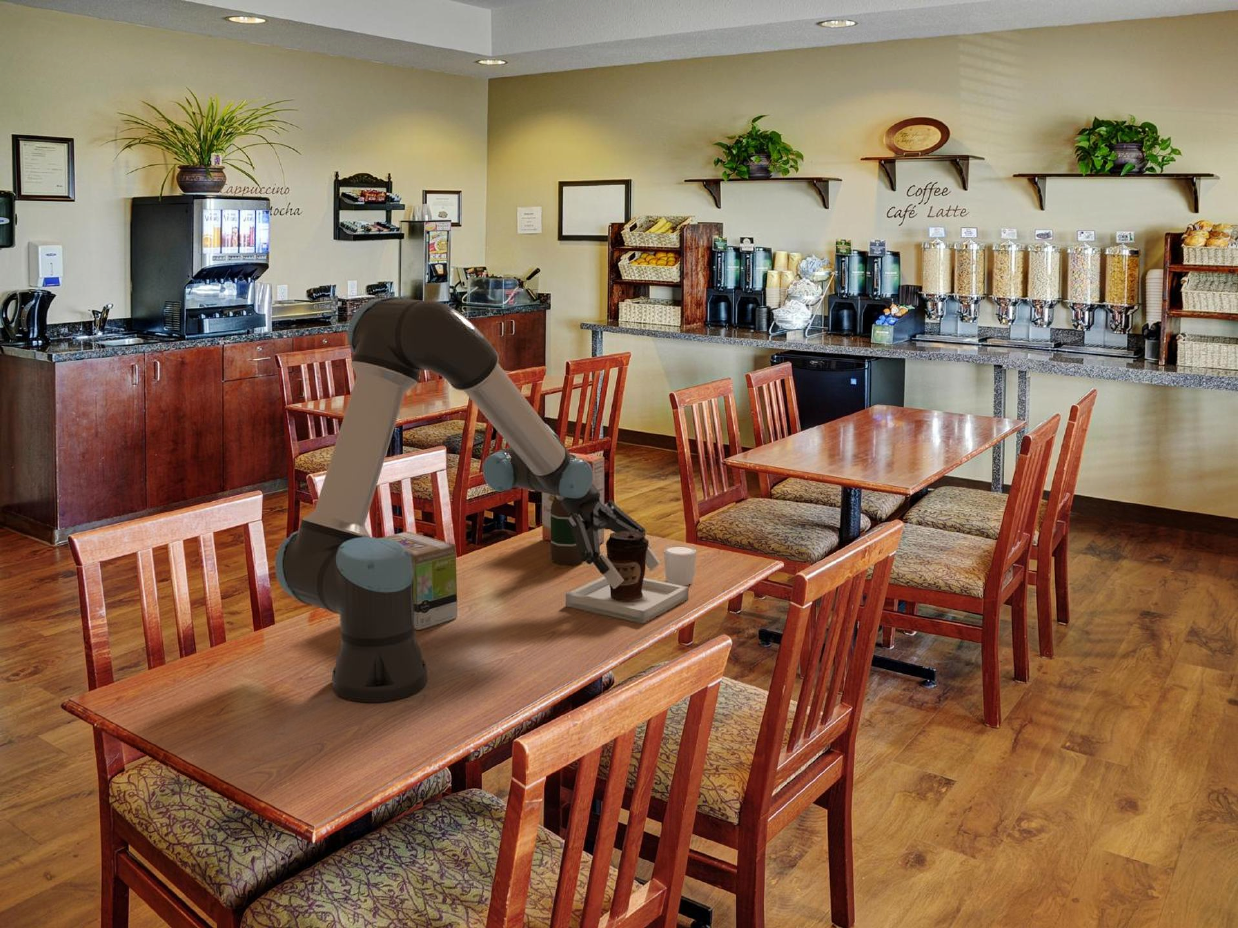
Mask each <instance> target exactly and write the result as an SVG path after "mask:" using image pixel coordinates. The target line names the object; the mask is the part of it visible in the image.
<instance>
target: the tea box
mask: <svg viewBox="0 0 1238 928" xmlns="http://www.w3.org/2000/svg"><path fill="white" fill-rule="evenodd" d="M379 538H380V537H378V538H377V539H379ZM381 538H385V539H390V540H393V541H395V542H398V543H400V544H402V545H403V546H404V547H405V548H406V549H407V550H408V551H409V553H410V556H411V562H412V569H413V572H414V574H413V593H414V630H417V631H419V630H424V629H427V628H430V627H434V626H438V625H440V624H443V623H447V622H450V621H452V620H454V619H457V618H458V587H457V586H458V584H457V581H458V580H457V575H458V574H457V552H456V551H457V549H456V548H457V547H456V546H457V545H456V544H455V543H450V542H448V541H447V542H446V541H443V540H439V539H436V538H433V537H430V536H425V535H422V534H418V533H416V532H411V531H404V532H399V533H395V534H391V535H388V536H383V537H381Z"/></svg>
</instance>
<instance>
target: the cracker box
mask: <svg viewBox="0 0 1238 928" xmlns="http://www.w3.org/2000/svg"><path fill="white" fill-rule="evenodd" d="M569 453H570V454H572V455H575V456H576V458H579V459H581V460H584V461H586V462H588V463H589V464H590V466H591V468H592V471H593V481H592V483H593V485H594V486H595V487H596V489H597V490H598V491H599V493H600V498H599V500H600V502H601V503H602V504H603V505H605V457H604V456H597V455H590V454H583V453H574V452H569ZM554 498H555V495H552V494H548V493H544V492H541V519H542V520H541V523H542V524H541V525H542V526H541V527H542V528H541V530H542V531H541V532H542V535H541V536H542V538H541V539H542V540H546V541H550V542H551V505H552V502H553V499H554ZM598 537H599V545H600V544H602V543H605V529H601V530H598Z"/></svg>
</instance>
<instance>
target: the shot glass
mask: <svg viewBox="0 0 1238 928" xmlns="http://www.w3.org/2000/svg"><path fill="white" fill-rule="evenodd" d="M696 558H697V549H696V548H693V547H692V546H686V545H673V546H667V547H665V548H664V549H663V560H664V573H665V582H666V583H671V584H676V585H687V586H690V585H692V584H693V583H694V577H695V567H696ZM692 582H693V583H692ZM691 583H692V584H691ZM689 584H690V585H689Z"/></svg>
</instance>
